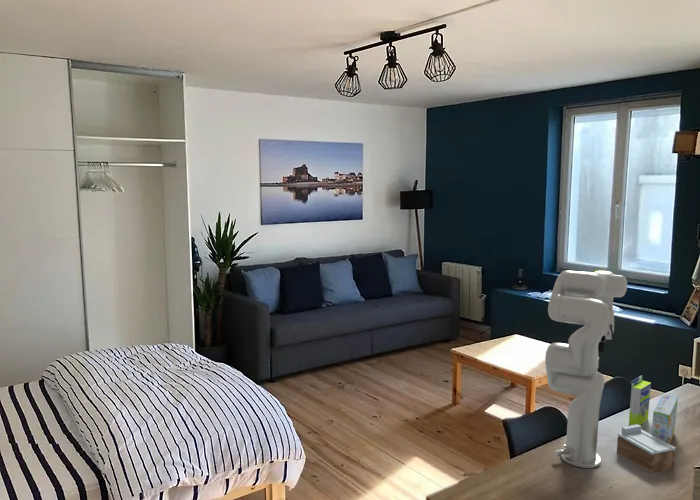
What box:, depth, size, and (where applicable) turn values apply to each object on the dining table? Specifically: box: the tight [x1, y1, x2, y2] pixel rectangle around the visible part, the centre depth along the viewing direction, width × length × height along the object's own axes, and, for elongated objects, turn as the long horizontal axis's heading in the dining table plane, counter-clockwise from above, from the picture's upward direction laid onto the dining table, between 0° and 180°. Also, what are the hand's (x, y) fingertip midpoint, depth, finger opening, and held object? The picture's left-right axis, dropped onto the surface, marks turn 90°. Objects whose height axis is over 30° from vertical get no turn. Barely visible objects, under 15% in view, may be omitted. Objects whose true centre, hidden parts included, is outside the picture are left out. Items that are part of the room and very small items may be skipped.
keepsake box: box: [616, 435, 676, 474], centre depth 186 cm, size 10×14×6 cm
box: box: [628, 375, 652, 426], centre depth 214 cm, size 10×4×17 cm, turn 132°
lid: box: [617, 424, 676, 455], centre depth 185 cm, size 10×14×3 cm
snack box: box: [650, 393, 679, 445], centre depth 198 cm, size 21×6×15 cm, turn 143°
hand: (598, 351), depth 209 cm, fingers closed
